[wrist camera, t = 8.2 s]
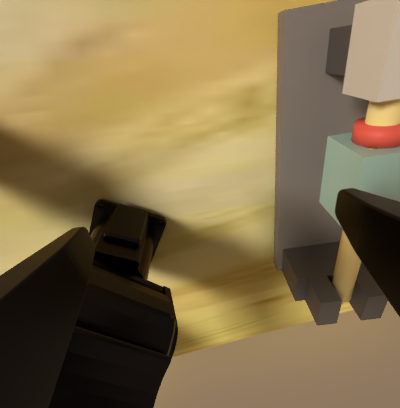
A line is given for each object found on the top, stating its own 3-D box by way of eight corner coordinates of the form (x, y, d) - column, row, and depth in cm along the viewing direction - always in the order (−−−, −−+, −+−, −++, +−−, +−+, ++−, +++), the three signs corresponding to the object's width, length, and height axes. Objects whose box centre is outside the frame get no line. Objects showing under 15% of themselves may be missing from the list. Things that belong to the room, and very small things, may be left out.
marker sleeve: (371, 194, 18) (410, 225, 15) (319, 201, 18) (347, 234, 15) (388, 126, 15) (441, 145, 12) (327, 135, 16) (363, 157, 12)
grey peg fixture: (347, 252, 26) (397, 315, 20) (273, 262, 27) (300, 327, 20) (409, -11, 15) (574, -60, 8) (278, 13, 15) (341, -17, 9)
